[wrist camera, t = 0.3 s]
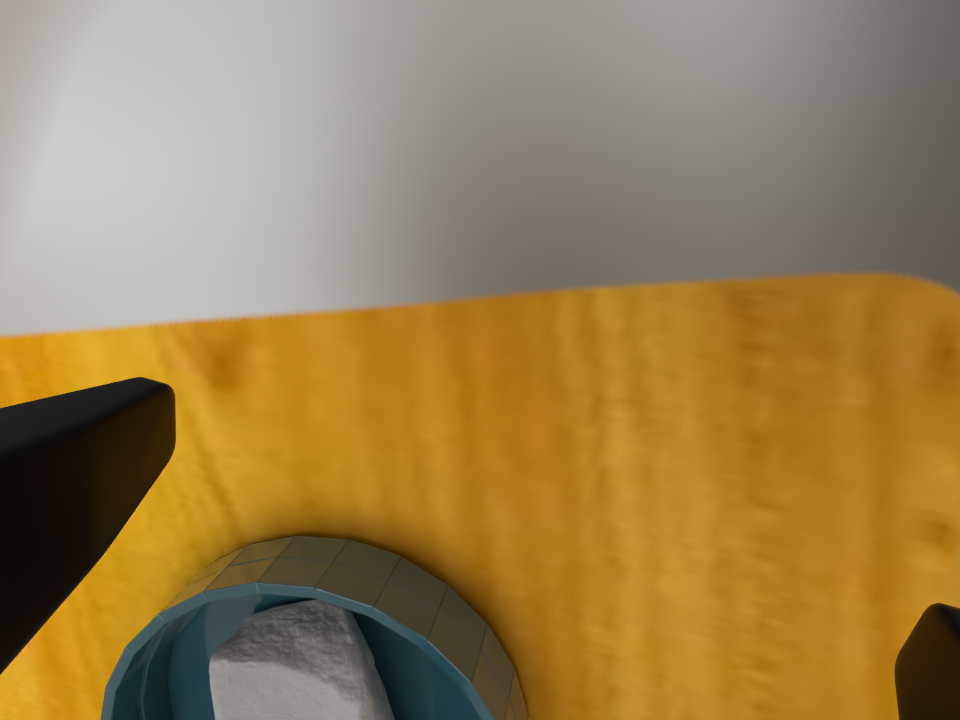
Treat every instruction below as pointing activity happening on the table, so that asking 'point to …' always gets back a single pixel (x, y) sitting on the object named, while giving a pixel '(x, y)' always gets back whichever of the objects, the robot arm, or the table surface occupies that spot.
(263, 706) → the grey stone block
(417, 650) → the bowl
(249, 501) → the table surface
